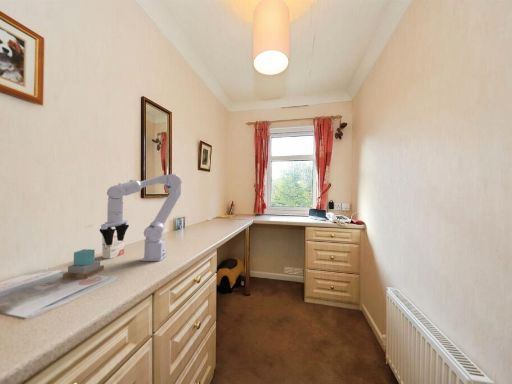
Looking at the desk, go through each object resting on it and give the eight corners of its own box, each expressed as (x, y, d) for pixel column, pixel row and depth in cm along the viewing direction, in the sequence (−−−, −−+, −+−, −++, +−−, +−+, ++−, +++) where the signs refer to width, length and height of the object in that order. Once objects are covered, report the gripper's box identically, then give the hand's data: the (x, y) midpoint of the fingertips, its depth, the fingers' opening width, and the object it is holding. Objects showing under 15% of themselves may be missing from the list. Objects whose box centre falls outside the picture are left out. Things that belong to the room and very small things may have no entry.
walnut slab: (103, 271, 86) (103, 265, 86) (86, 280, 77) (86, 274, 77) (82, 271, 86) (82, 265, 86) (62, 280, 77) (62, 274, 77)
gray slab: (100, 267, 84) (100, 261, 84) (84, 274, 77) (84, 267, 77) (85, 266, 85) (85, 260, 85) (67, 272, 78) (67, 266, 78)
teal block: (94, 261, 84) (94, 249, 84) (84, 265, 79) (85, 252, 79) (83, 261, 84) (83, 249, 84) (73, 265, 79) (74, 252, 79)
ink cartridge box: (116, 253, 109) (116, 225, 109) (124, 253, 108) (124, 226, 108) (101, 258, 101) (101, 228, 101) (109, 258, 100) (110, 229, 100)
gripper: (117, 210, 98) (116, 238, 98) (93, 214, 83) (93, 246, 83) (131, 210, 98) (131, 238, 98) (111, 214, 83) (110, 247, 83)
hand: (114, 242), depth 91 cm, fingers open, 7 cm apart
